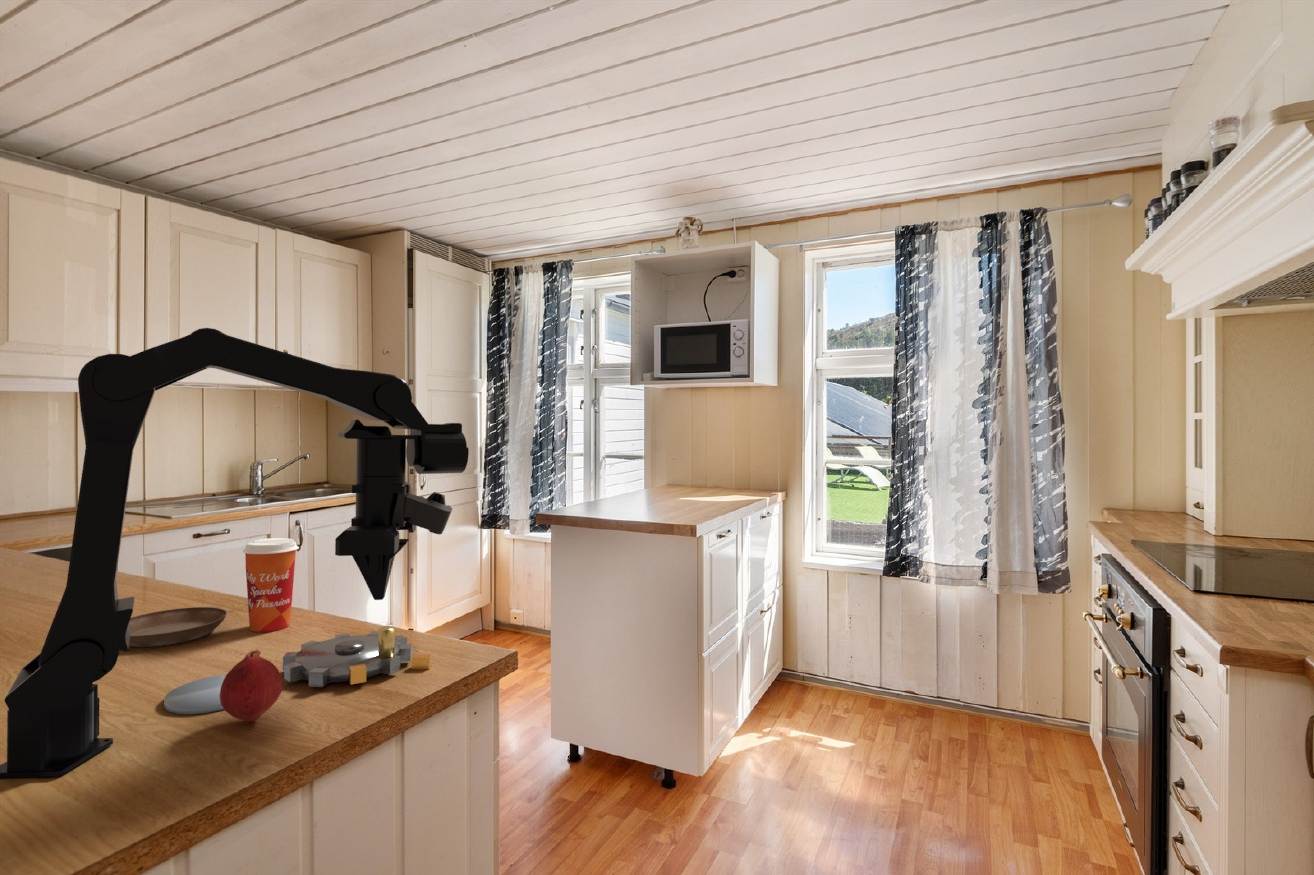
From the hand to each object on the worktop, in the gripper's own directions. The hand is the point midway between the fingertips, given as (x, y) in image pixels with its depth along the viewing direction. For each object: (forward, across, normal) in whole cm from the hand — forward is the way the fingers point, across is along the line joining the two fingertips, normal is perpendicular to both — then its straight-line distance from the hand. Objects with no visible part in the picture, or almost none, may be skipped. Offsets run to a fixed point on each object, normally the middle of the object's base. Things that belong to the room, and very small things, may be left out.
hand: (379, 599), depth 80 cm
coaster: (+11, +1, +18) cm, 22 cm away
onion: (+12, -7, +12) cm, 18 cm away
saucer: (+12, +28, +35) cm, 46 cm away
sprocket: (+11, +8, +5) cm, 15 cm away
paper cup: (+12, +29, +22) cm, 38 cm away
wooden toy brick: (+11, +7, +2) cm, 14 cm away
